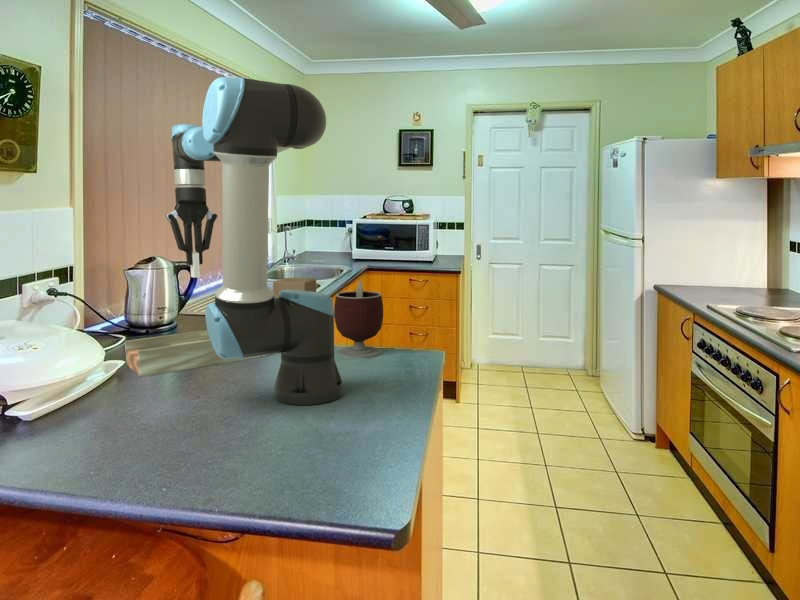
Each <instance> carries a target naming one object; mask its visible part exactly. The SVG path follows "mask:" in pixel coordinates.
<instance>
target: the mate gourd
mask: <svg viewBox="0 0 800 600" xmlns="http://www.w3.org/2000/svg"><path fill="white" fill-rule="evenodd" d="M362 282H363V280H361V279H360V280H359V281H358V284H357V288H356V290H353V291H352V290H351V291H343V292H338V293H336V294H335V300H334V305H333V308H334V314H335V316H334V324H335V328H336V329H337V331H338V332H339V334H340V335H341V336H342V337H344V338H346V339H349V340H351V341H353V342H354V343H353V344H352V346H347V347H346V346H345V347H342V348H340V349H338V350H337V355H338V356H339V355H340V356H339V357H341V356H342V357H341V358H344V357H346V359H350V358H366V359H372V358H376V357H378V355H379V356H380V355H381V353H382V351H381V348H378V347H376V346H366V345H365V341H367V340H369V339H371V338H374V337H377V335H378V333H379V332H380V330H381V329H382V325H383V323H384V303H383V298H382V293H380V292H377V291H369V290H367V291H366V290H364V288H363V283H362ZM371 357H372V358H371Z"/></svg>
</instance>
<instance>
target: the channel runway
mask: <svg viewBox="0 0 800 600" xmlns="http://www.w3.org/2000/svg"><path fill="white" fill-rule="evenodd" d="M124 349H125V350H124V351H125V362H126V366H127V367H128V368H130V370H132V371H133V372H134V373H136V374H137V375H138V376H139V377H140V378H142V377H150V376H155V375H161V374H162V375H163V374H167V373H172V372H173V373H174V372H178V371H183V370H184V371H185V370H190V369H196V368H201V367H203V368H204V367H208V366H215V365H220V364H226V363H232V362H237V361H243V360H250V359H255V358H261V357H260V356H254V357H248V358H243V359H222V358H220V357H219V356H218V355H217V354H216V352H215V350H214V348H213V346H212V343H211V341H210V337H209V334H208V330H206V329H204V330H197V331H190V332H181V333H174V334H167V335H158V336H152V337H145V338H137V339H131V340H129V339H128V340H124ZM269 355H270V354H268V356H269ZM261 356H262V357H266V355H261Z"/></svg>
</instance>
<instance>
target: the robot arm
mask: <svg viewBox="0 0 800 600" xmlns="http://www.w3.org/2000/svg"><path fill="white" fill-rule="evenodd" d="M201 125H202V126H199V125H198V124H197V125H196V124H189V123H187V124H186V123H185V124H184V123H180V124H175V125H172V127H171V137H170V139H171V146H172V157H173V175H174V185H175V186H177V187H176V188H174V190H175V196H174V197H175V206H174V209H173V211H171V212H170V213H167V214H166V215H165V217H166V219H167V220H168V223H170V227H171V229H172V232H173V235H174V239H175V243H176V245H177V248H178V250H179V251H183V252H184V253H185V257H186V264H187V265H188V266H190V278H194V279H196V278H197V279H198V278H201V272H200V271H201V270H200V265H203V259H204V257H203V253H204V252H205V251H207V250H210V246H211V245H210V244H211V241H212V234H213V229H214V224H215V221H216V220H217V218H218V214H217V213H213V212H212V211H210V210H209V207H208V205H207V191H206V188H205V186H206V174H205V162H221V176H222V177H221V178H222V179H221V186H222V187H221V188H222V189H221V190H222V191H221V192H222V193H221V195H222V196H221V199H222V201H221V202H222V203H221V204H222V207H221V208H222V211H221V212H222V223H221V225H222V285H221V287H219V288H217V290H216V291H215V292H214V302H210V303H208V304H207V305H206V306H205V311H204V313H205V315H204V316H205V324H206V328H207V330H208V334H209V337H210V341H211V343H212V346H213V348H214V350H215V352H216V354H217V355H218V356H219V357H220V358H222V359H243V358H248V357H254V356H261V355H268V354H269V355H274V354H280V364H279V365H280V366H279V368H278V372H277V375H276V378H275V382H274V385H273V397H274V398H275V399H276V400H277V401H278V402H281V403H284V404H289V405H293V406H294V405H299V406H307V405H308V406H310V405H320V404H325V403H329V402H333V401H335V400H337V399H339V398H340V397H341V396H343V394H344V386H343V385H344V384H343V380H342V378H341V375H340V372H339V369H338V366H337V362H336V359H335V317H334V316H335V314H334V300H333V298H332V297H331V296H330V295H328V294H326V293H323V292H317V291H316V292H311V291H302V290H281V291H280V292H279V294H278V297H279V298H274V292H273V289H271V287H269V286H268V247H269V246H268V245H269V243H268V239H269V236H268V234H269V177H270V176H269V174H270V169H269V168H270V165H271V164H272V163H273V162H274V161H275V160H276V159H277V158H278V154H279V153H281V152H283V151H286V150H289V149H295V150H303V149H306V148H308V147H311V146H313V145H315V144H317V143H318V142H319V141H320V140H321V139H322V137H323V135H324V133H325V131H326V127H327V116H326V112H325V109H324V107H323V105H322V103H321V102H320V100H319V99H318V98H317V96H315V95H314V94H313V93H312V92H310V91H309V90H307V89H306V88H304V87H301V86H298V85H296V84H290V83H279V82H272V81H267V80H260V79H252V78H251V79H250V78H246V77H240V76H239V77H233V76H232V77H230V76H228V77H227V76H222V77H221V76H219V77H218V78H216V79H214V80H213V81H212V82H211V84H210V85H209V87H208V90H207V92H206V95H205V99H204V103H203V111H202V124H201ZM178 218H179V219H180V220H181V222H182V226H183V233H184V238H183V234H182V231H181V227H180V225H179V222H178ZM205 218H206V221H205V225H204V226H205V228H204V231H203V230H202V226H203V221H204V219H205ZM192 227H193V229H192ZM202 231H203V232H202ZM193 236H194V239H193ZM193 240H194V244H193ZM193 245H194V246H193ZM193 247H194V248H193ZM269 355H268V356H269Z"/></svg>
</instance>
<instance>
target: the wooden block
mask: <svg viewBox="0 0 800 600" xmlns="http://www.w3.org/2000/svg"><path fill="white" fill-rule="evenodd" d="M281 290H302V291H311V292H317V279H316V278H315V277H314V278H312V277H311V278H310V277H309V278H308V277H307V278H306V277H285V278H281V279H277V280H275V281H273V282H272V291H273V292H274V298H279V297H278V294H279V292H280V291H281Z"/></svg>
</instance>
